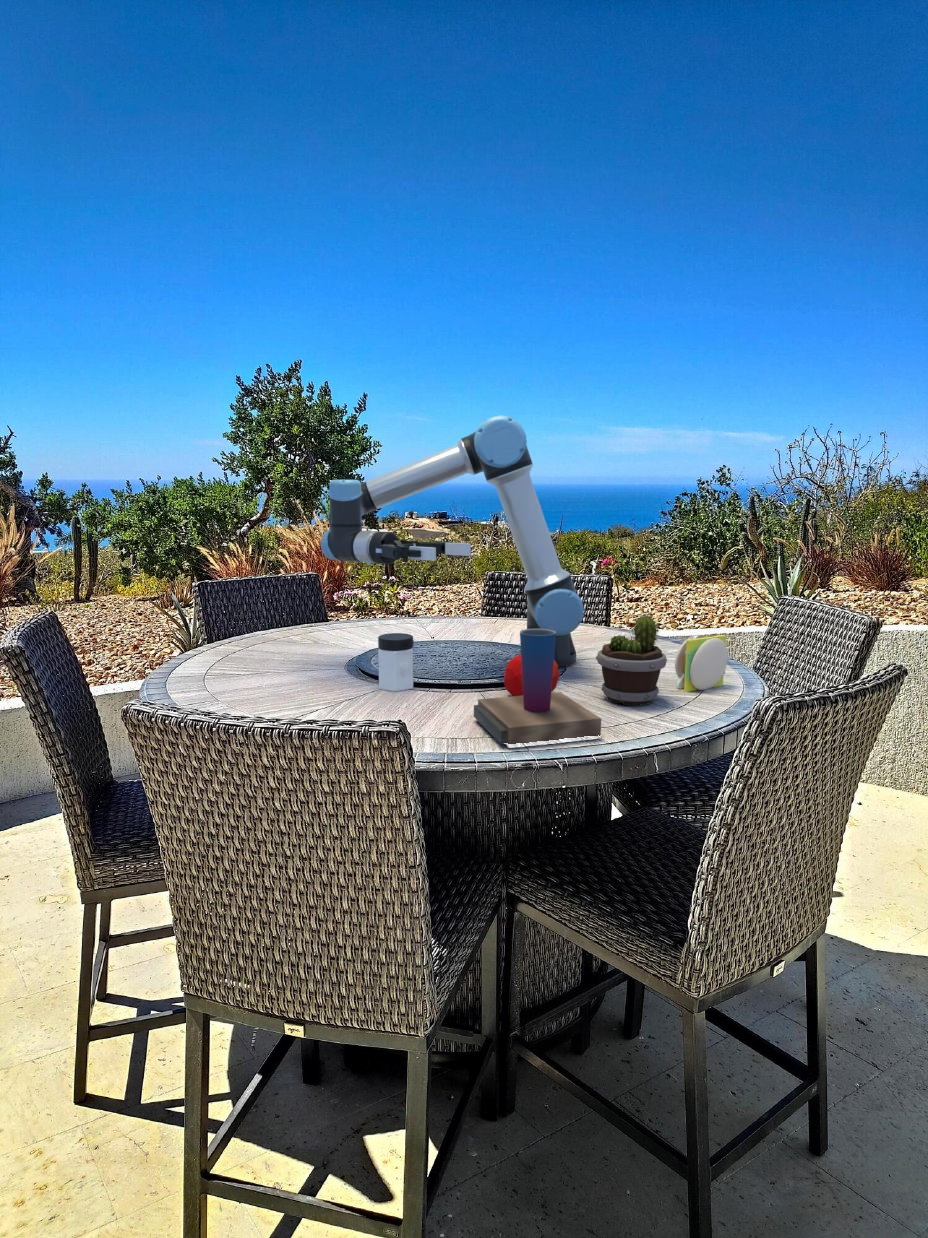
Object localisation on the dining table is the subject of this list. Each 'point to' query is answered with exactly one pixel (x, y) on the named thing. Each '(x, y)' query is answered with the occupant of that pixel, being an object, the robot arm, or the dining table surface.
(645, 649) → the flowerpot
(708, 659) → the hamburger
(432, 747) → the dining table surface
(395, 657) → the jar
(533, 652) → the cup
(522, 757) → the dining table surface
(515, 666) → the tomato
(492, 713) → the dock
